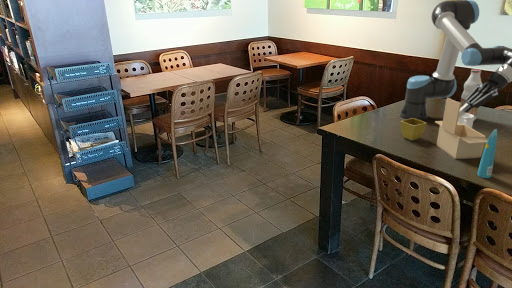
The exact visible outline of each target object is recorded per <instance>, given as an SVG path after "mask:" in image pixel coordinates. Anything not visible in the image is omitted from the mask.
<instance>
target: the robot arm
mask: <svg viewBox="0 0 512 288" xmlns="http://www.w3.org/2000/svg"><path fill="white" fill-rule="evenodd" d="M479 16H480V7H479V4H478V3H477V2H476V1H474V0H445V1H442V2H440V3H438V4H437V5H436V6H435V7H434V8H433V9H432V13H431V21H432V23H433V26H435V28H436V29H438V30H441V31H442V33H444V35H445V39H444V41H443V45H442V49H441V53H440V56H439V61H438V62H437V63H438V64H437V67H436V70H435V71H434V72H433V73H432V74H431V77H430V76H429V75H414V76H410V77H409V79H408V80H407V83H406V91H405V97H404V99H405V100H404V103H403V105H402V108H401V109H400V111H399V116H400V117H402V118H404V119H405V120H407V119H411V118H415V119H417V120H420V121H424V120H427V119H428V115H429V113H428V107H427V101H428V100H429V99H445V98H446V99H447V98H450V97H451V96H453V95H454V93H455V92H456V91H457V80H456V77H455V75H454V70H455V67H456V63H457V60H458V58H459V54H460V53H461V55H460V56H461V57H460V59H461V62H462V64H463V65H464V66H466V67H467V66H468V67H479V66H496V65H500V66H499V67H498V68H497V69H496V70H495V72H494V71H493V72H492V73H491V74H490V75H489V76H487V81H485V82H482V84H483V85H479V84H477V85H476V87H475V88H474V90H473V91H472V92H471V93H470V94H469V95H468V97H467V98H466V99H465V102H466V103H465V104H464V105H463V106H462V107H461V108H460V112H459V117H458V118H461V117H462V116H463V115H464V114H465V113H467V112H468V111H469V110H471V109H472V108H474V107H475V108H478V109H479V108H480V107H481V106H483V105H484V104H486V103H488V102H489V101H491V100H492V99H494V98H497V97H498V96H499V94H500V93H498V91H499V90H503V89H504V88H505V87H506V86H507V85H508V84H509V83H511V82H512V48H510V47H507V46H504V45H495V46H493V47H483V46H481V45H480V43H478V41H476V40H475V38H474V37H473V36H472V35H471V34H470V33H469V32H468V31H469V30H470V28H471V25H473V24H475V23H476V22H477V21H478V19H479Z"/></svg>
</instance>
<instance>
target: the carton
mask: <svg viewBox="0 0 512 288" xmlns="http://www.w3.org/2000/svg"><path fill="white" fill-rule="evenodd" d="M434 123H436V124H437V125H439V127H438V132H437V133H438V134H437V140H436V144H435V145H436V146H437V148H439V149H441V150H442V151H443V152H444V153H446V154H448V155H449V156H450V157H451V158H453V159H454V160H465V159H481V158H482V155H483V152H484V148H485V144H486V143H487V141H488V138H489V137H487V136H486V135H484V134H483V133H481V132H479V131H477V130H475V129H474V128H473V127H472V128H470V127H468V126H466V125H465V124H461V123H459V122H457V128H456V133H455V135H453V134H452V133H450V132H449V131H447V130H446V129H444V128H442V123H443V120H435V121H434Z"/></svg>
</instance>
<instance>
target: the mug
mask: <svg viewBox="0 0 512 288" xmlns="http://www.w3.org/2000/svg"><path fill="white" fill-rule="evenodd" d="M474 121H475V120H474V115H472V114H468V113H465V114H464V115H463V116H462V117H461V118H458V122H459V123H461V124H465V125H466V126H468V127H470V128H472V129H473V125H474V124H473V123H474Z"/></svg>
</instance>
